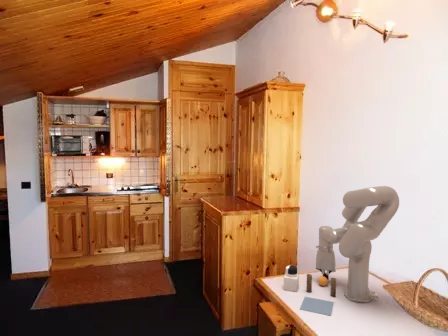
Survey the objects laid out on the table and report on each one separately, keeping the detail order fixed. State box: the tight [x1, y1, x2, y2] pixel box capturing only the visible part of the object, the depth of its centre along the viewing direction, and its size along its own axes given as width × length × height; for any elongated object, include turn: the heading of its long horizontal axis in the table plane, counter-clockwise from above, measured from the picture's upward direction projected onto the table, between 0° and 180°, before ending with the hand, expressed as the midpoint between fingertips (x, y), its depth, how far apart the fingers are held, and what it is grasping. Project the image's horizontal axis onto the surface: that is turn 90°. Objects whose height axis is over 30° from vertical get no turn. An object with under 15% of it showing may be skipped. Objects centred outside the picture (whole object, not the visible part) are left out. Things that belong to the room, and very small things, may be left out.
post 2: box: [329, 277, 337, 298], centre depth 164 cm, size 3×3×9 cm
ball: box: [317, 275, 329, 287], centre depth 177 cm, size 5×5×5 cm
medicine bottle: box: [283, 265, 300, 293], centre depth 173 cm, size 7×7×12 cm
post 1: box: [306, 273, 313, 294], centre depth 169 cm, size 3×3×9 cm
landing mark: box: [299, 296, 335, 317], centre depth 154 cm, size 14×14×1 cm
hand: (325, 280), depth 181 cm, fingers closed
